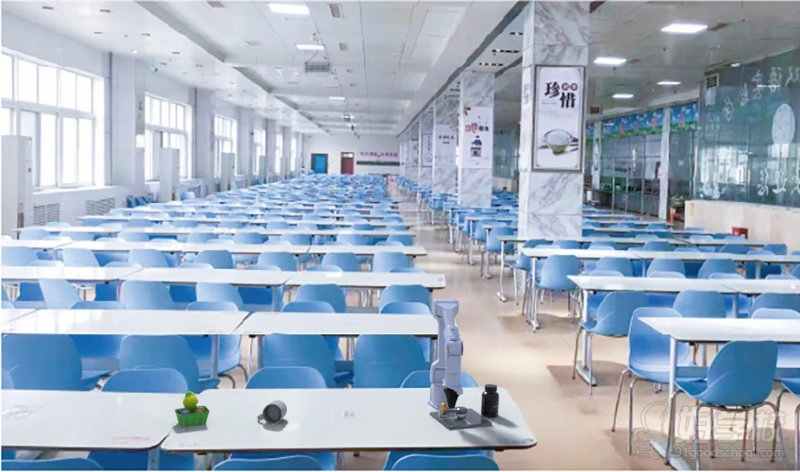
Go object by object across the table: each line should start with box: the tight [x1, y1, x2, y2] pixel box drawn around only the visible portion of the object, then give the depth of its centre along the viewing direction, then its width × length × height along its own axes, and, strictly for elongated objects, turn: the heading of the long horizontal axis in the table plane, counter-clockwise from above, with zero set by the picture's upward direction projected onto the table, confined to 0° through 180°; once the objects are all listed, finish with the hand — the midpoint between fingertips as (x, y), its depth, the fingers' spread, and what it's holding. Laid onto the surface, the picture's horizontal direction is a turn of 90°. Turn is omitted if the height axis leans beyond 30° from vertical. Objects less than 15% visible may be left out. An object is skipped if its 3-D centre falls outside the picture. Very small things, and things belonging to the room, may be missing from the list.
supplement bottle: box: [480, 383, 500, 419], centre depth 305 cm, size 7×7×12 cm
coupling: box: [441, 403, 468, 415], centre depth 298 cm, size 11×5×4 cm, turn 110°
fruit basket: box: [174, 391, 211, 428], centre depth 285 cm, size 11×9×11 cm
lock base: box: [429, 408, 493, 430], centre depth 299 cm, size 18×18×4 cm
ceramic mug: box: [256, 399, 288, 425], centre depth 291 cm, size 11×8×8 cm
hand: (451, 407), depth 292 cm, fingers closed
